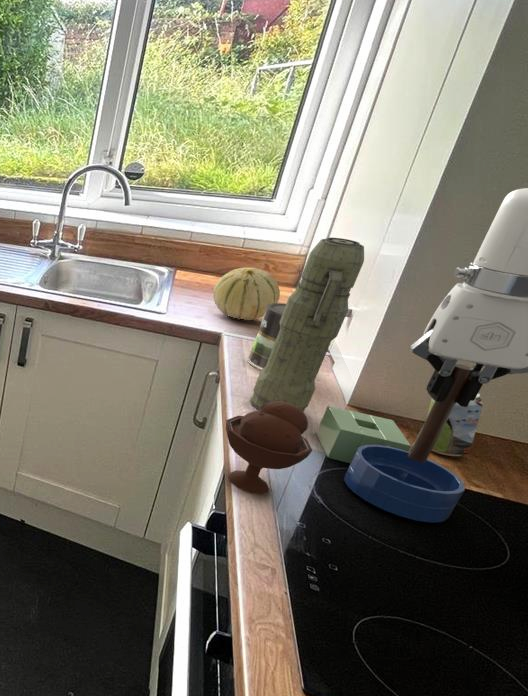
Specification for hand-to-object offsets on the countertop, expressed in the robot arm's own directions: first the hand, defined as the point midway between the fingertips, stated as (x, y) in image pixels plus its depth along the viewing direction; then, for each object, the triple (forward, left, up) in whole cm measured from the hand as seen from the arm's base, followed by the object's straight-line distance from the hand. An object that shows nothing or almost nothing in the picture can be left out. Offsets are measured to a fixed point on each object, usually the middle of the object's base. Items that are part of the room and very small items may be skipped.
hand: (447, 399), depth 85 cm
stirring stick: (0, 0, -11) cm, 11 cm away
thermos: (+12, -25, -19) cm, 33 cm away
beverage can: (-12, -23, -19) cm, 32 cm away
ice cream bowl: (+20, +8, -19) cm, 29 cm away
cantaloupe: (+13, -81, -19) cm, 84 cm away
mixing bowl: (0, 0, -18) cm, 18 cm away
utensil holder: (+2, -13, -18) cm, 23 cm away
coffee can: (+9, -48, -19) cm, 52 cm away
